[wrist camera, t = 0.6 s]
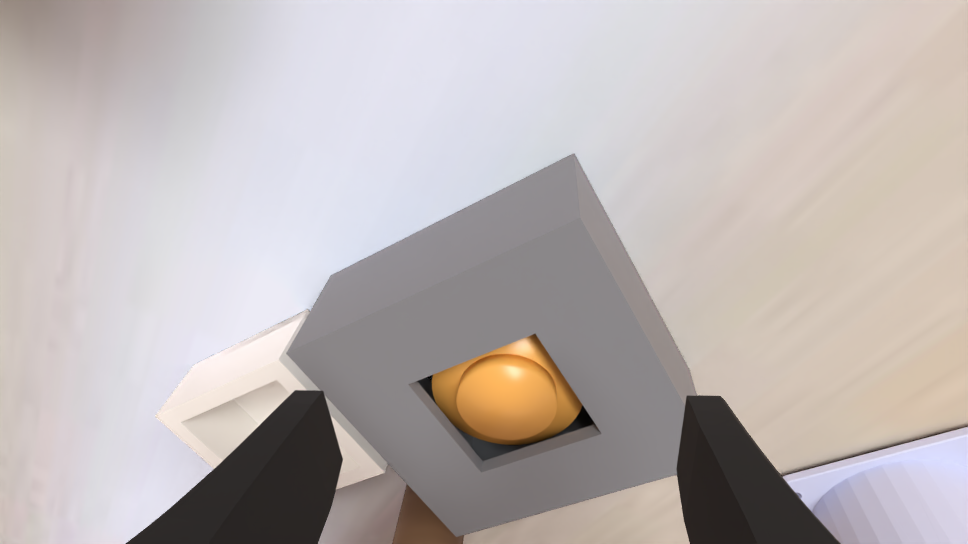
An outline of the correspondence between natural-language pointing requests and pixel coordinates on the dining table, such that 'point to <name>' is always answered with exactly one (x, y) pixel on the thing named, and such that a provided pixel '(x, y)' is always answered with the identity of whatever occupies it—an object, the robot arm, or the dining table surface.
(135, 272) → the dining table surface
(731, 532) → the robot arm
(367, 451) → the box
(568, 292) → the box
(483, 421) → the button
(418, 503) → the brown wooden cylinder
